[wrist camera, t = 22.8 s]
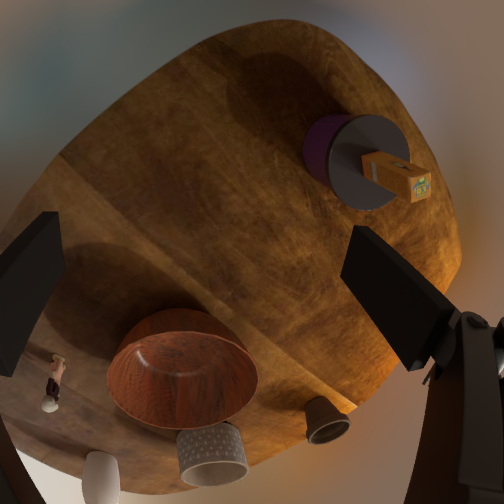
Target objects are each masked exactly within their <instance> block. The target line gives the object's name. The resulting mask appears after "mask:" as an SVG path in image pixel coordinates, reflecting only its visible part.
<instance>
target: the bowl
mask: <svg viewBox="0 0 504 504" xmlns="http://www.w3.org/2000/svg"><path fill="white" fill-rule="evenodd" d="M259 380H260V377H259V372H258V367H257V364H256V363H255V361H254V360H253V358H252V357H251V355H250V354H249V352H248V351H247V349H246V348H245V346H244V345H243V343H242V342H241V341H240V339H239V338H238V337H237V336H236V334H235V333H234V332H233V331H232V330H230V329H229V328H228V327H227V326H226V325H224V324H223V323H222V322H221V321H219V320H218V319H217V318H215V317H213V316H211V315H208V314H206V313H204V312H202V311H198V310H193V309H188V308H171V309H166V310H162V311H158V312H156V313H153V314H151V315H149V316H147V317H145V318H144V319H142V320H141V321H140V322H139V323H138V324H136V325H135V326H134V327H133V328H132V329H131V330H130V331H129V332H128V333H127V335H126V336H125V337H124V339H123V341H122V342H121V344H120V346H119V347H118V349H117V351H116V353H115V354H114V356H113V358H112V360H111V363H110V365H109V367H108V373H107V381H106V382H107V386H108V390H109V393H110V395H111V397H112V398H113V400H114V401H115V403H116V404H117V405H118V406H119V407H120V408H121V409H122V410H123V411H125V412H126V413H127V414H128V415H130V416H131V417H133V418H135V419H137V420H139V421H141V422H143V423H146V424H150V425H153V426H156V427H160V428H168V429H176V430H179V429H197V428H202V427H207V426H212V425H214V424H217V423H220V422H223V421H225V420H227V419H229V418H231V417H233V416H234V415H236V414H238V413H239V412H241V411H242V410H243V409H244V408H245V407H246V406H247V405H248V404H249V403H250V402H251V400H252V399H253V397H254V396H255V394H256V392H257V390H258V385H259Z"/></svg>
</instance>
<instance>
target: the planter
mask: <svg viewBox="0 0 504 504" xmlns="http://www.w3.org/2000/svg"><path fill="white" fill-rule="evenodd" d="M176 440H177V450H178V459H179V468H180V476H181V479H182V480H183V481H184V482H185V483H187V484H189V485H193V486H198V487H218V486H224V485H228V484H232V483H234V482H237V481H239V480H241V479H243V478H244V477H245V476H246V475H247V474H248V472H249V467H248V463H247V460H246V456H245V452H244V448H243V444H242V440H241V436H240V432H239V430H238V429H237V428H236V427H234V426H232V425H230V424H227V423H222V422H220V423H217V424H214V425H212V426H207V427H202V428H197V429H183V430H182V431H180V433H179V434H178V435H177V439H176Z"/></svg>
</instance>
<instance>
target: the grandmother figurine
mask: <svg viewBox="0 0 504 504" xmlns="http://www.w3.org/2000/svg"><path fill="white" fill-rule="evenodd" d="M52 358H53V360H54V361H55V362H53V363H51V364H50V370H49V380H48V384H47V387H46V393H47V395H45V396H44V397H43V400H42V401H43V402H42V405H41V408H42V410H43V411H45V412H53V411H55V410H56V409H58V405H57V404H55V402H56V401H58V399H59V396H60V395H59V385H60V378H61V376H62V373H63V370H65V369H66V366H65V365H64V364H63V362H64V361H65V359H64V358H63V357H62V356H59V355H57V354H53V356H52Z"/></svg>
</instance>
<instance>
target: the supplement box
mask: <svg viewBox="0 0 504 504" xmlns="http://www.w3.org/2000/svg"><path fill="white" fill-rule="evenodd" d="M361 158H362V165H363V171H364V177H365V178H367V179H369V180H371V181H373V182H375V183H377V184H378V185H380V186H382V187H384V188H386V189H388V190H389V191H391V192H393V193H395V194H397V195H399V196H400V197H402V198H404V199H406V200H407V201H409V202H411V203H413V202H416V201H418V200H421V199H424V198H427V197H430V194H431V174H430V172H429V171H427V170H425V169H423V168H421V167H418V166H416V165H414V164H411V163H409V162H407V161H405V160H402V159H400V158H397V157H395V156H393V155H390V154H388V153H385V152H383V151H377V152H373V153H369V154H366V155H362V156H361Z"/></svg>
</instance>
